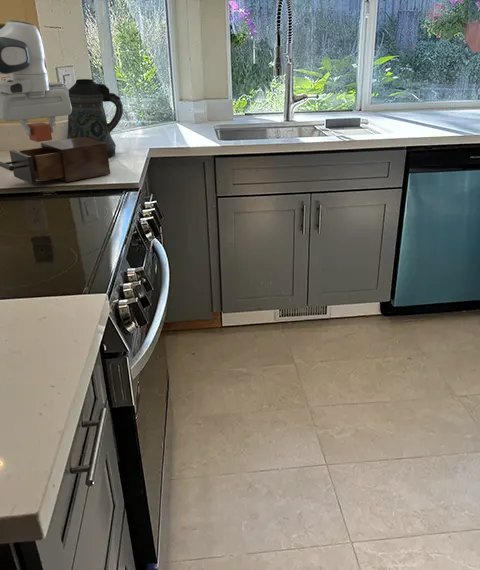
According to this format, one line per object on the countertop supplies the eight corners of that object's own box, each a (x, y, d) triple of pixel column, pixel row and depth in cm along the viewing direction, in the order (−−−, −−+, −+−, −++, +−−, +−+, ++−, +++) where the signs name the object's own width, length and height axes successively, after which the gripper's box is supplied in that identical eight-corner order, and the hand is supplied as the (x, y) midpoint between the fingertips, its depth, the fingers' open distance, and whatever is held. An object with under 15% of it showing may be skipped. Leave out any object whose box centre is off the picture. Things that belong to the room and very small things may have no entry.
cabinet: (66, 181, 175) (61, 149, 171) (45, 173, 183) (40, 142, 179) (110, 173, 186) (106, 143, 181) (89, 166, 193) (85, 136, 189)
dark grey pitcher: (58, 154, 206) (45, 79, 195) (110, 145, 219) (100, 74, 208) (80, 163, 196) (67, 84, 185) (133, 154, 208) (124, 80, 197)
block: (37, 142, 169) (34, 126, 167) (29, 139, 172) (27, 123, 170) (52, 140, 172) (49, 124, 171) (44, 137, 175) (42, 122, 173)
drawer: (16, 187, 165) (10, 159, 162) (-3, 179, 172) (-8, 152, 169) (76, 176, 178) (73, 150, 175) (57, 169, 185) (53, 144, 181)
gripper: (61, 80, 175) (68, 128, 181) (-11, 85, 160) (-1, 136, 166) (72, 82, 171) (79, 131, 177) (0, 87, 157) (9, 140, 163)
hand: (40, 133), depth 171 cm, fingers closed on block, 4 cm apart
